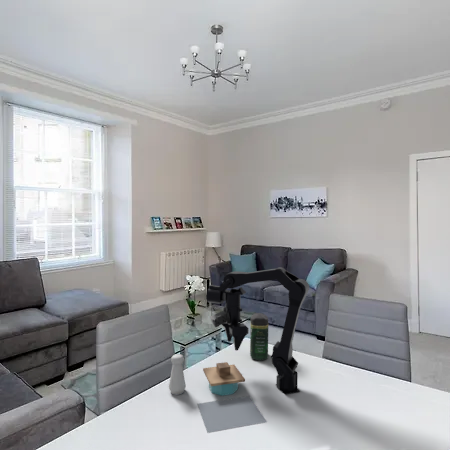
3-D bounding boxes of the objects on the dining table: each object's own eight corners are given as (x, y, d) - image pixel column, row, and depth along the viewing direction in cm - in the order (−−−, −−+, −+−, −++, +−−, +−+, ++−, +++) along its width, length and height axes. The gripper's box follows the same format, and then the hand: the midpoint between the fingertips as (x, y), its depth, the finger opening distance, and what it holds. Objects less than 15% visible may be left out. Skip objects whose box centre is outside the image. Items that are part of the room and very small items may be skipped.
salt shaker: (182, 398, 110) (182, 359, 109) (166, 396, 111) (166, 358, 111) (187, 389, 115) (188, 353, 115) (172, 387, 116) (172, 351, 116)
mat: (249, 397, 110) (249, 395, 110) (267, 423, 96) (267, 421, 96) (196, 405, 105) (196, 403, 105) (207, 434, 91) (207, 432, 91)
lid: (234, 366, 123) (234, 356, 123) (245, 381, 111) (245, 370, 111) (203, 370, 119) (203, 360, 119) (210, 386, 108) (210, 374, 108)
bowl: (232, 381, 121) (232, 368, 121) (240, 394, 112) (240, 380, 112) (207, 385, 119) (207, 371, 119) (213, 398, 110) (213, 384, 110)
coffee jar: (269, 361, 139) (269, 318, 139) (250, 360, 139) (250, 317, 139) (267, 352, 149) (267, 311, 148) (249, 351, 149) (250, 311, 149)
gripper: (206, 300, 131) (206, 339, 131) (219, 313, 113) (218, 357, 114) (233, 298, 134) (233, 336, 135) (249, 310, 116) (248, 354, 117)
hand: (232, 345), depth 125 cm, fingers open, 9 cm apart
